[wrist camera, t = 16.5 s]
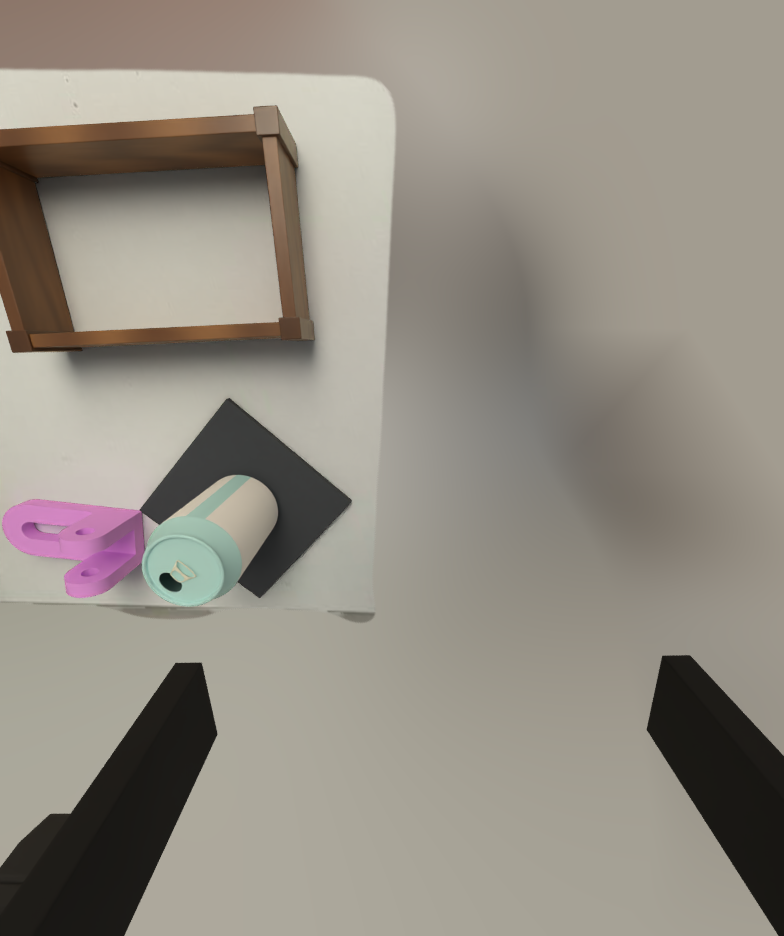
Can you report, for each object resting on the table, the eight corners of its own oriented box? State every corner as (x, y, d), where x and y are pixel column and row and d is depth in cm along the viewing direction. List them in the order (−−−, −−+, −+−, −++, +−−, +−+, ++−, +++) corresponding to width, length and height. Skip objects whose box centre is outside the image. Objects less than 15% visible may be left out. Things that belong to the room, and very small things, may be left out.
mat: (229, 397, 37) (226, 398, 36) (351, 500, 40) (351, 502, 39) (142, 508, 40) (138, 510, 40) (261, 595, 43) (259, 598, 42)
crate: (296, 143, 31) (277, 105, 26) (315, 340, 35) (301, 339, 30) (13, 160, 31) (-59, 125, 27) (65, 351, 36) (11, 352, 31)
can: (275, 544, 41) (228, 622, 29) (206, 531, 40) (130, 605, 29) (284, 480, 38) (236, 537, 27) (211, 466, 38) (132, 517, 27)
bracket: (141, 511, 40) (91, 543, 34) (145, 559, 42) (97, 599, 35) (11, 496, 40) (-66, 526, 33) (19, 545, 42) (-53, 583, 35)
